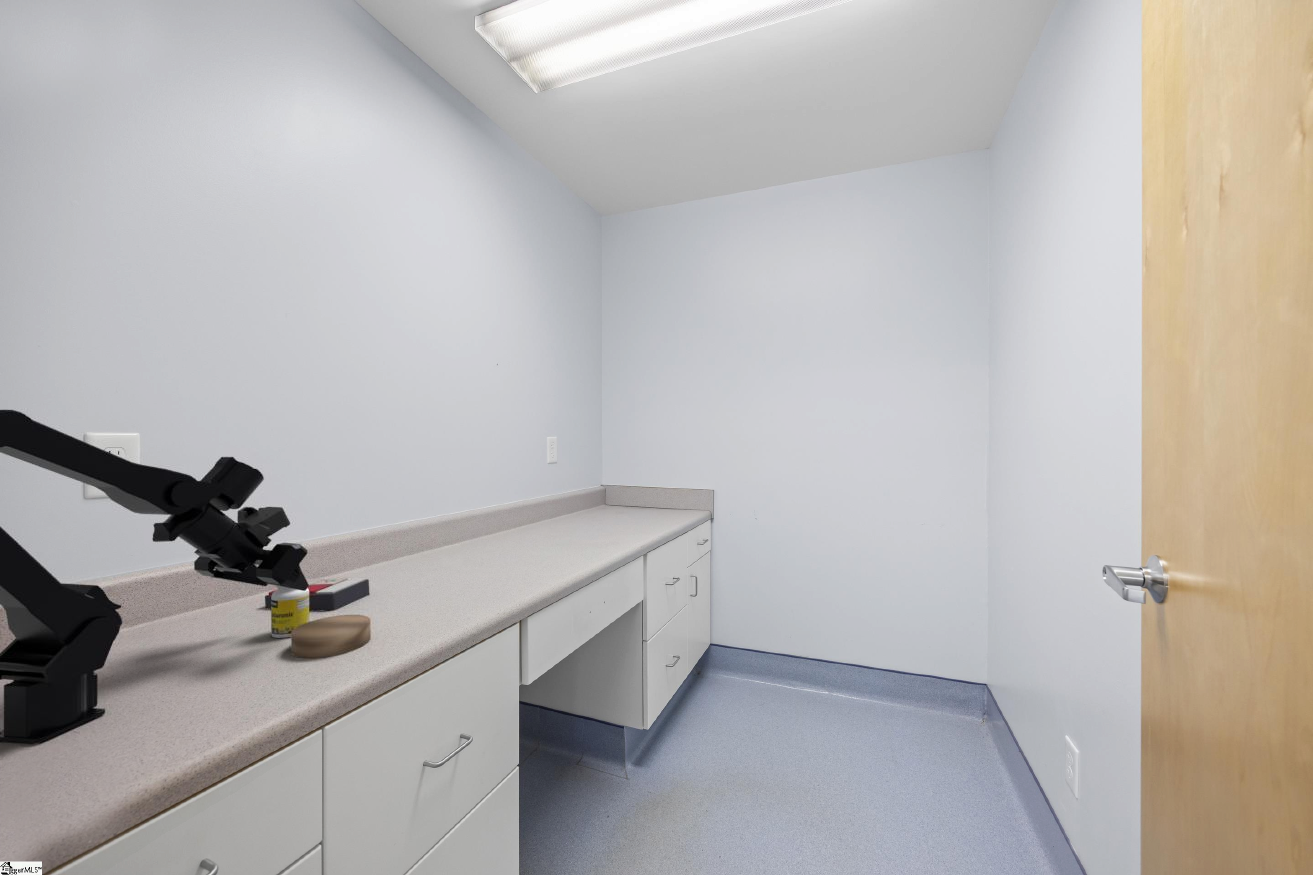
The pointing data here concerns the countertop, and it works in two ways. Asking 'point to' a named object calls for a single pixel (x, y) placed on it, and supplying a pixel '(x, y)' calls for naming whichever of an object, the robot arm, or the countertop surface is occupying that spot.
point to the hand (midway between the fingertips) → (286, 585)
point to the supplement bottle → (288, 610)
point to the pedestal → (330, 636)
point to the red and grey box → (332, 593)
